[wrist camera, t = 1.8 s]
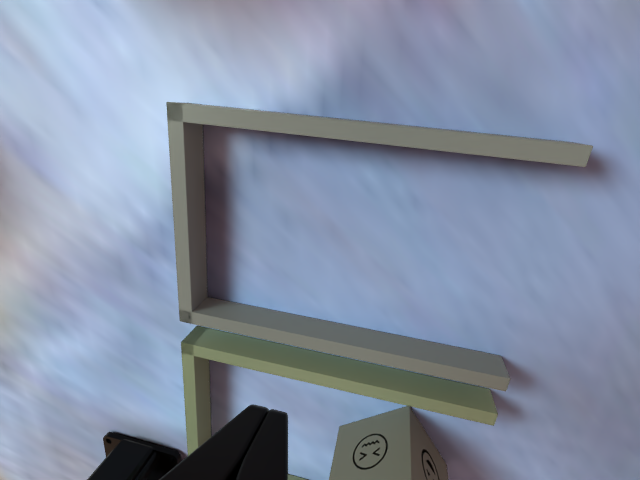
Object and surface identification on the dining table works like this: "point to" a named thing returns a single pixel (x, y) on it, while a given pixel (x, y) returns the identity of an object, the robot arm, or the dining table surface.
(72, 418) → the dining table surface
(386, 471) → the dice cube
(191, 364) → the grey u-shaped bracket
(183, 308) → the olive u-shaped frame
